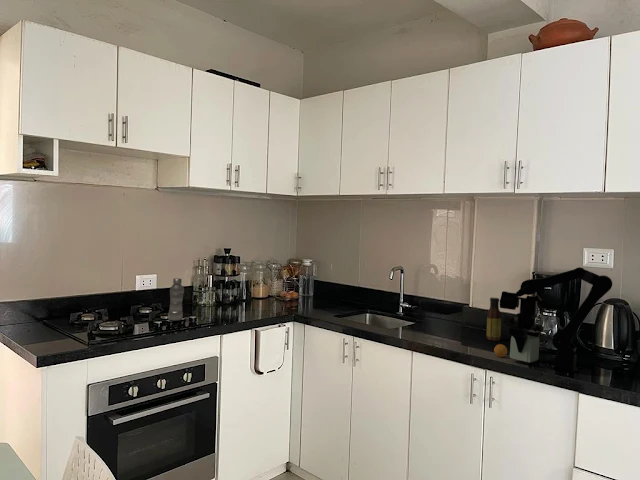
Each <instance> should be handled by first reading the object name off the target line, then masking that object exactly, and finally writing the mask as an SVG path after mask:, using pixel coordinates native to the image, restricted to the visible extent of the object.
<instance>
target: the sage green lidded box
mask: <svg viewBox="0 0 640 480" xmlns="http://www.w3.org/2000/svg"><path fill="white" fill-rule="evenodd" d="M527 336H528V338H527V341H526V343H525V346H524V348H523V350H522V352H521V353H520V352H518V349H517V344H516V341H515V338H514V337H513V336H511V338H510V347H509V348H510V349H509V359H514V360H517V361H522V362H525V363H533V362H536V361H538V360H539V353H540V352H539V351H540V336H539V337H535V336H530V335H527Z"/></svg>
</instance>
